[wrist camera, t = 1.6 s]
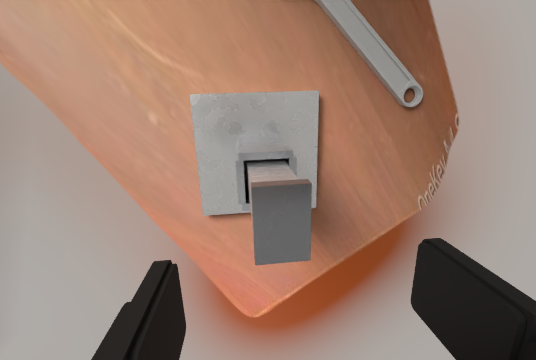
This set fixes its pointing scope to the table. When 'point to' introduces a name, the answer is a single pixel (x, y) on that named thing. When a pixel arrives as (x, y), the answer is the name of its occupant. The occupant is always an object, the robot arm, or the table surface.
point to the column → (279, 212)
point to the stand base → (251, 142)
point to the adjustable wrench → (372, 49)
